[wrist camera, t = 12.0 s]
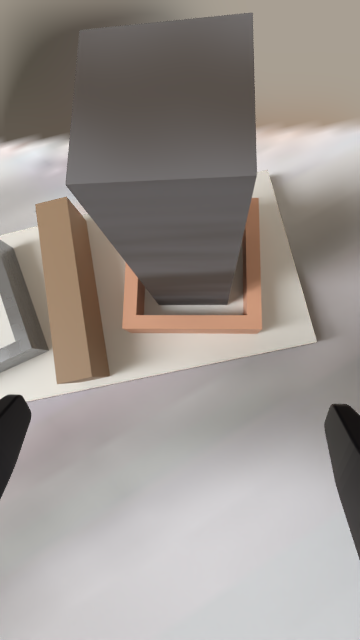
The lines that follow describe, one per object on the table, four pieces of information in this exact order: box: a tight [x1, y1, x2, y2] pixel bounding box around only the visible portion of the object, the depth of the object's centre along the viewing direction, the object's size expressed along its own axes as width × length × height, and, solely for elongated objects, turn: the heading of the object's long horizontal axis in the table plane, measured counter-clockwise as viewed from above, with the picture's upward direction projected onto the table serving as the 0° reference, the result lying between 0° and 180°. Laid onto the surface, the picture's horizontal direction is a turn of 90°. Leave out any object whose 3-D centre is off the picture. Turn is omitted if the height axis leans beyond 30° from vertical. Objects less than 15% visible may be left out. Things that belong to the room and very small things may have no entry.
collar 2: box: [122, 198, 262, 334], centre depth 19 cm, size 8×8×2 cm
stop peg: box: [66, 13, 257, 305], centre depth 14 cm, size 4×4×13 cm
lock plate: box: [0, 170, 317, 402], centre depth 20 cm, size 28×12×4 cm, turn 101°
